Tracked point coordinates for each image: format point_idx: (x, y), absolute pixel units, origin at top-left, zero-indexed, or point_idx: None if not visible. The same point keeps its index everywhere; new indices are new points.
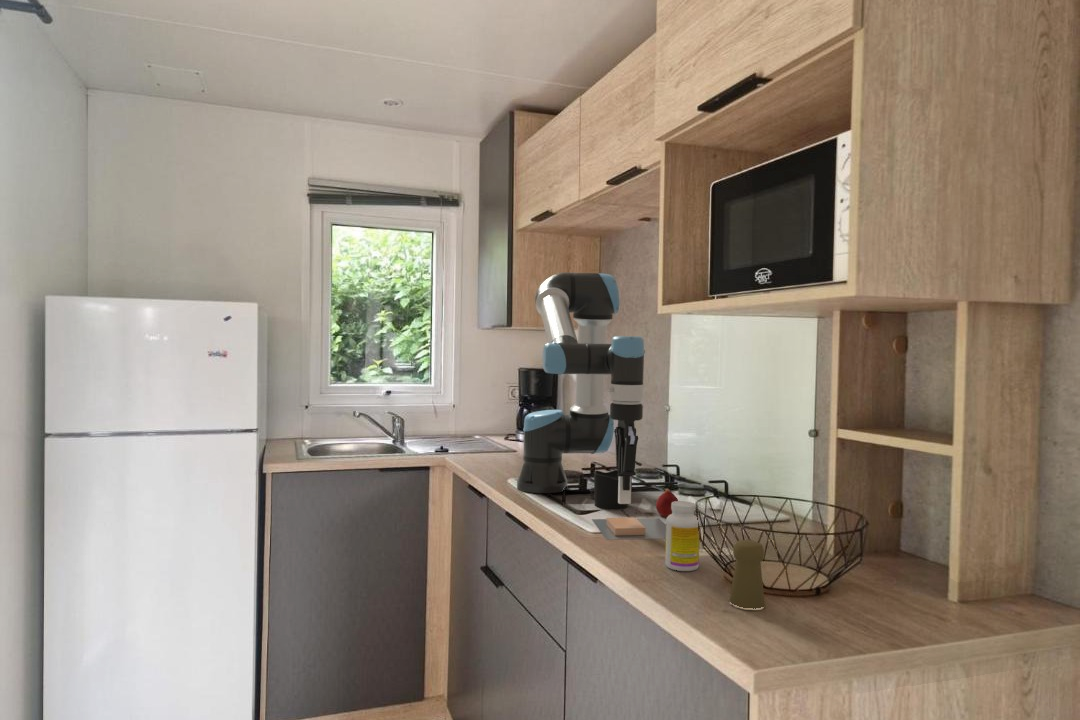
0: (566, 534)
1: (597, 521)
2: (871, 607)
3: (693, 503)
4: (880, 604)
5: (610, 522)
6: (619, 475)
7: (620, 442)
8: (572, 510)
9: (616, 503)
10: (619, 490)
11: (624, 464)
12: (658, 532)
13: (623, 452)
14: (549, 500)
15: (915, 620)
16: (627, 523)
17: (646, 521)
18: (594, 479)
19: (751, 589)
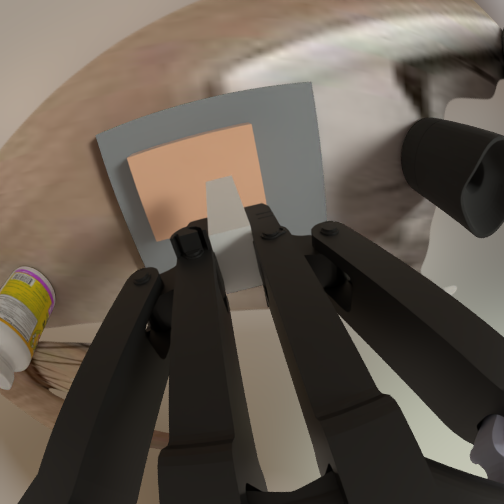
0: (185, 16)
1: (288, 97)
2: (44, 404)
3: (5, 389)
4: (55, 410)
5: (194, 137)
6: (174, 239)
7: (160, 500)
8: (423, 62)
9: (415, 170)
10: (211, 199)
11: (103, 327)
12: None
13: (175, 400)
14: (476, 43)
15: (40, 412)
16: (192, 191)
17: (298, 234)
18: (487, 131)
19: None
